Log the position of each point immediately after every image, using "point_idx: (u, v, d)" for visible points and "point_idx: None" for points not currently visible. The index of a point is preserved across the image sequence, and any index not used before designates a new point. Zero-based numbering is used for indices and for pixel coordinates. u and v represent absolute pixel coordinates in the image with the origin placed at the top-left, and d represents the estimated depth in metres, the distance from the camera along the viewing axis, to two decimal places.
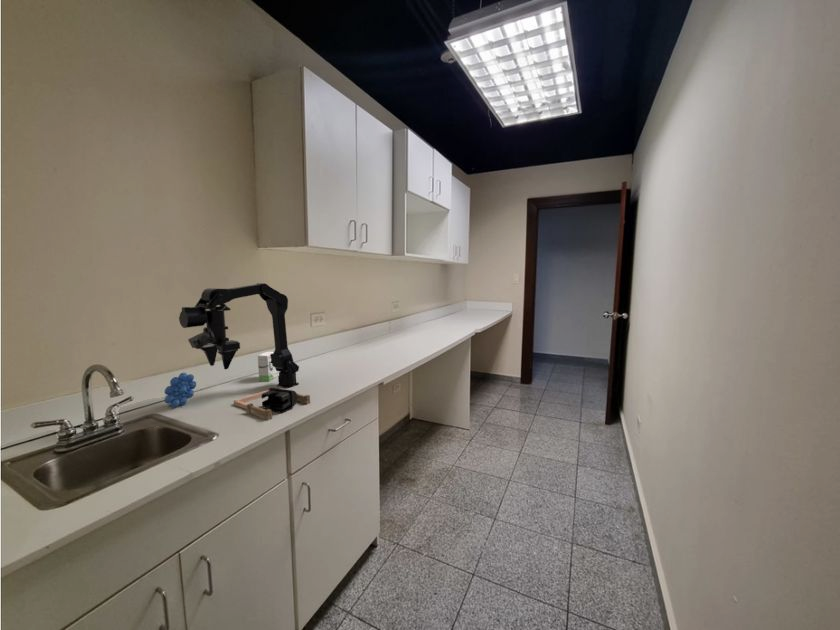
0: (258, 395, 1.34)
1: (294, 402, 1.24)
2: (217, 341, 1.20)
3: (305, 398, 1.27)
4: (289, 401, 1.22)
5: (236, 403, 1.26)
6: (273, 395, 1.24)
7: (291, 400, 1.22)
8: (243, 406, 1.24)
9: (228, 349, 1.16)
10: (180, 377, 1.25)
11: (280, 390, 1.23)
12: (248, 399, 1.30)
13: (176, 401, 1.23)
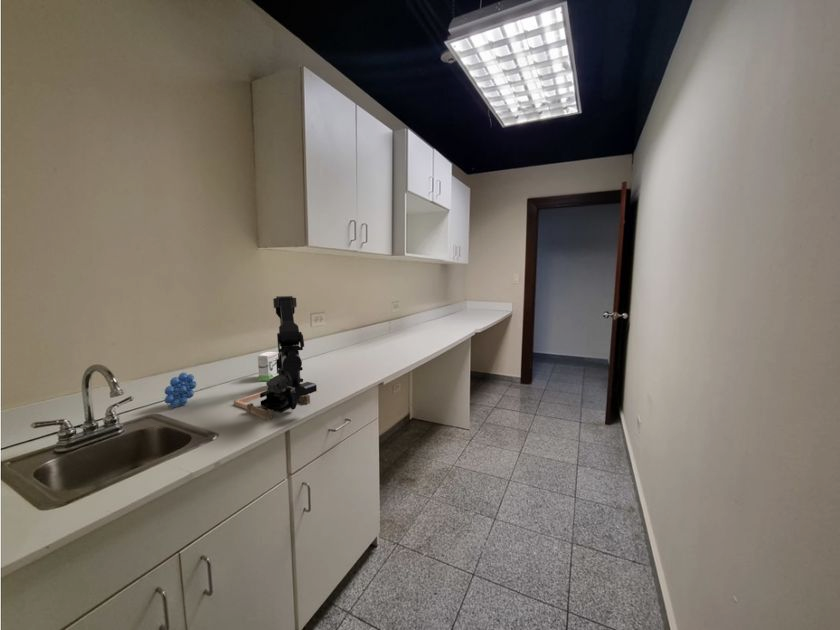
0: (258, 395, 1.34)
1: None
2: (293, 383, 1.17)
3: (305, 398, 1.27)
4: (287, 400, 1.22)
5: (236, 403, 1.26)
6: (271, 394, 1.25)
7: None
8: (243, 406, 1.24)
9: (307, 393, 1.13)
10: (180, 377, 1.25)
11: None
12: (248, 399, 1.30)
13: (176, 401, 1.23)
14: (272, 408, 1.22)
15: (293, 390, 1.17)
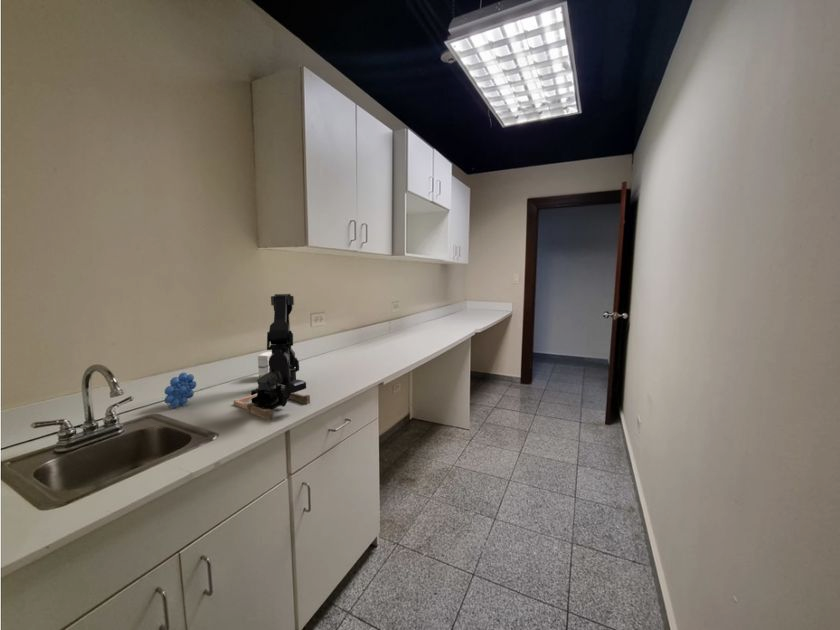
0: None
1: None
2: (283, 381, 1.19)
3: (305, 398, 1.27)
4: None
5: (236, 403, 1.26)
6: (262, 392, 1.27)
7: None
8: (243, 406, 1.24)
9: (296, 390, 1.16)
10: (180, 377, 1.25)
11: None
12: (248, 399, 1.30)
13: (176, 401, 1.23)
14: (263, 405, 1.24)
15: (283, 387, 1.19)
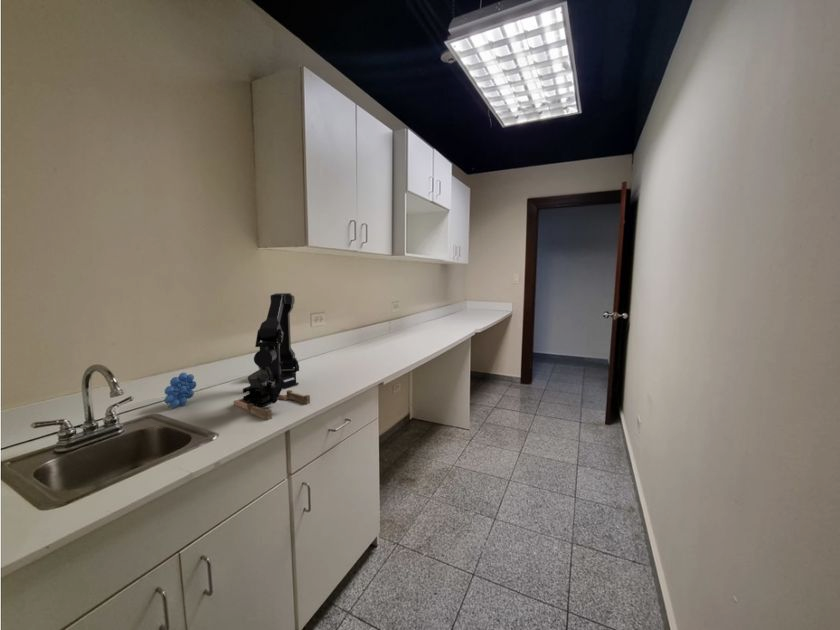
0: None
1: None
2: (274, 378, 1.22)
3: (305, 398, 1.27)
4: None
5: (236, 403, 1.26)
6: (254, 390, 1.29)
7: None
8: (243, 406, 1.24)
9: (286, 386, 1.18)
10: (180, 377, 1.25)
11: None
12: None
13: (176, 401, 1.23)
14: (254, 403, 1.26)
15: (273, 384, 1.22)
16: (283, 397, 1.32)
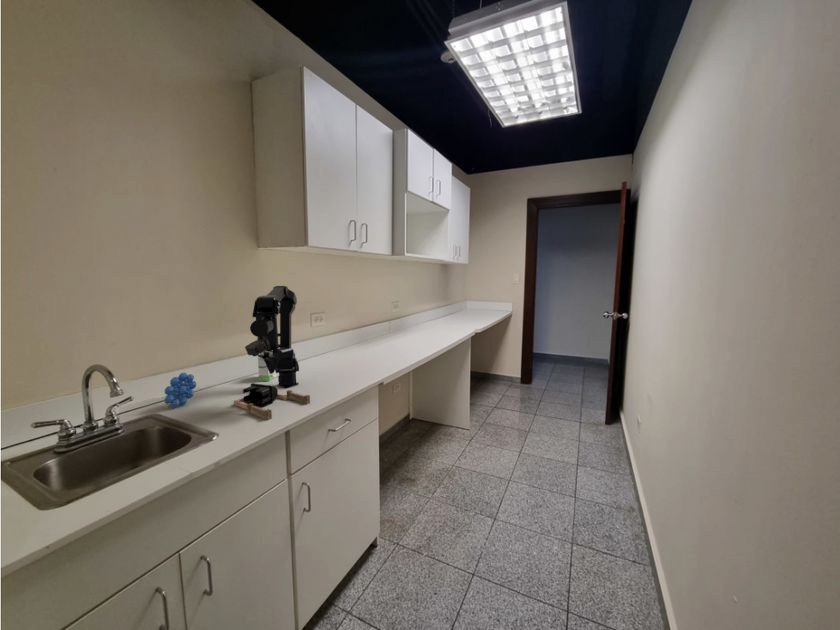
0: None
1: (274, 397, 1.29)
2: (271, 348, 1.23)
3: (305, 398, 1.27)
4: (269, 396, 1.27)
5: (236, 403, 1.26)
6: (254, 390, 1.29)
7: (271, 395, 1.28)
8: (243, 406, 1.24)
9: (284, 356, 1.19)
10: (180, 377, 1.25)
11: (261, 385, 1.29)
12: None
13: (176, 401, 1.23)
14: (254, 403, 1.26)
15: (271, 354, 1.23)
16: (283, 397, 1.32)
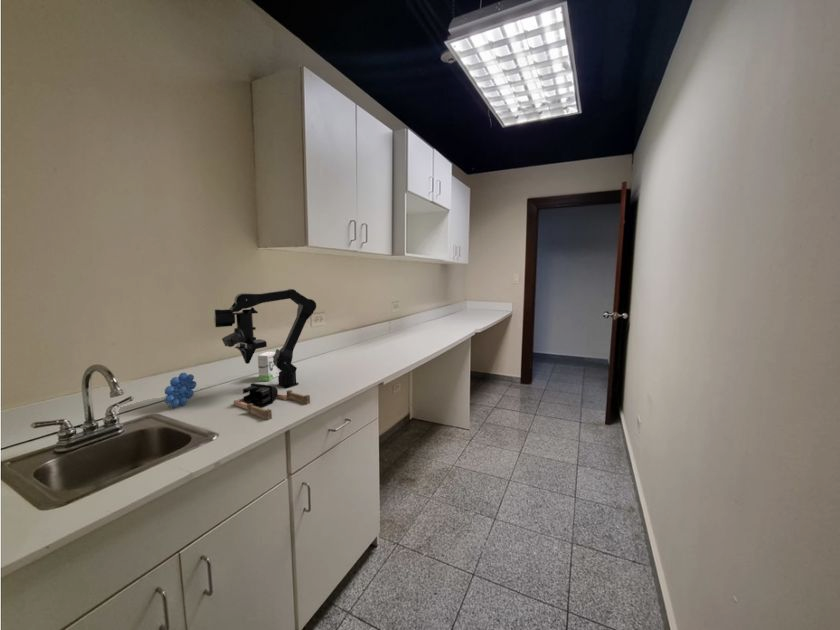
0: None
1: (274, 397, 1.29)
2: (246, 340, 1.35)
3: (305, 398, 1.27)
4: (269, 396, 1.27)
5: (236, 403, 1.26)
6: (254, 390, 1.29)
7: (271, 395, 1.28)
8: (243, 406, 1.24)
9: (257, 347, 1.32)
10: (180, 377, 1.25)
11: (261, 385, 1.29)
12: None
13: (176, 401, 1.23)
14: (254, 403, 1.26)
15: (246, 346, 1.35)
16: (283, 397, 1.32)
